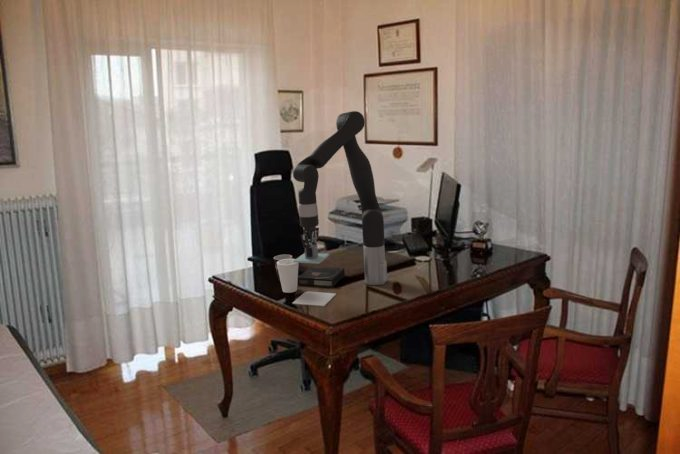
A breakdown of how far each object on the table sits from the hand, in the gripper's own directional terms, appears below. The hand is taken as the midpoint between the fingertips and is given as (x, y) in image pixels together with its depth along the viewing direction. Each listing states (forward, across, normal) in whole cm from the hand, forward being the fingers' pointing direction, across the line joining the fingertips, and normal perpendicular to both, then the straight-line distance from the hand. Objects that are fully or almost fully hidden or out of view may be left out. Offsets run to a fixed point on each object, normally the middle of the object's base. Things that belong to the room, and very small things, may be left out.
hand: (311, 255), depth 232 cm
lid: (+2, 0, 0) cm, 2 cm away
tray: (+19, 0, 0) cm, 19 cm away
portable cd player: (+20, +23, +6) cm, 31 cm away
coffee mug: (+19, +25, +25) cm, 40 cm away
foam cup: (+19, +8, +15) cm, 26 cm away
